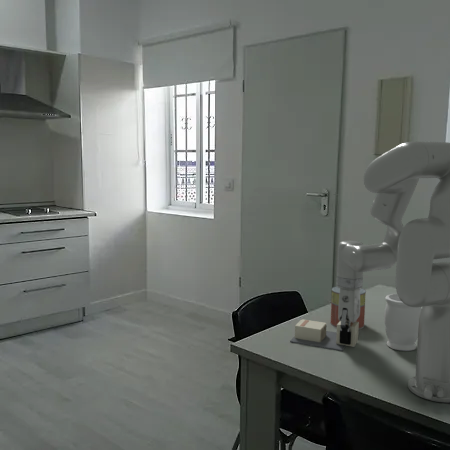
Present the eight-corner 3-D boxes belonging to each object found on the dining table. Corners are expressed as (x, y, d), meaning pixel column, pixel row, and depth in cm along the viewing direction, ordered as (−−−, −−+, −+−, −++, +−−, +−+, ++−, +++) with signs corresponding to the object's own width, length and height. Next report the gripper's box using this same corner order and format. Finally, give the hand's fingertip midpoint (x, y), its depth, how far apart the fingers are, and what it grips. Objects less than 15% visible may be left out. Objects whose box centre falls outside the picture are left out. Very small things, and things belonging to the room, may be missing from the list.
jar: (396, 354, 143) (398, 304, 141) (376, 341, 153) (378, 294, 151) (427, 350, 146) (430, 301, 144) (406, 338, 156) (408, 292, 154)
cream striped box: (320, 342, 151) (321, 329, 150) (294, 338, 155) (295, 325, 154) (326, 335, 157) (327, 322, 157) (301, 331, 161) (301, 318, 160)
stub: (354, 346, 147) (355, 327, 147) (336, 343, 150) (336, 324, 149) (358, 340, 152) (358, 321, 151) (340, 337, 155) (341, 319, 154)
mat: (342, 351, 145) (342, 349, 145) (290, 342, 152) (290, 340, 152) (352, 336, 158) (352, 334, 158) (303, 328, 165) (303, 327, 165)
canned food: (367, 322, 172) (369, 288, 170) (360, 331, 162) (361, 296, 160) (335, 317, 177) (336, 284, 175) (326, 326, 167) (327, 291, 165)
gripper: (356, 290, 139) (354, 352, 142) (367, 277, 155) (364, 333, 157) (330, 287, 142) (328, 347, 145) (343, 274, 158) (341, 329, 160)
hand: (347, 339), depth 151 cm, fingers closed on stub, 5 cm apart
